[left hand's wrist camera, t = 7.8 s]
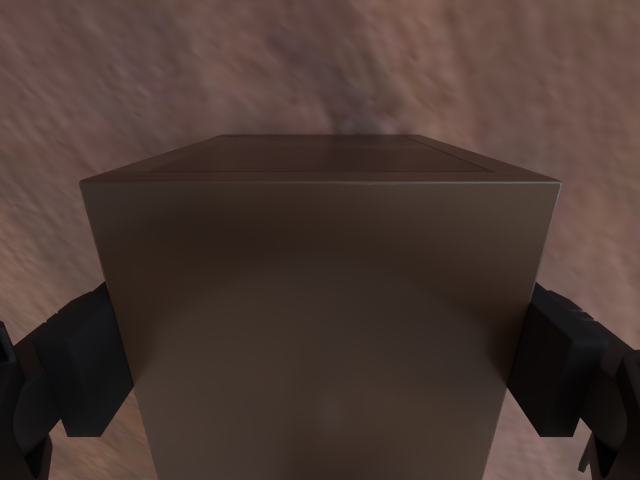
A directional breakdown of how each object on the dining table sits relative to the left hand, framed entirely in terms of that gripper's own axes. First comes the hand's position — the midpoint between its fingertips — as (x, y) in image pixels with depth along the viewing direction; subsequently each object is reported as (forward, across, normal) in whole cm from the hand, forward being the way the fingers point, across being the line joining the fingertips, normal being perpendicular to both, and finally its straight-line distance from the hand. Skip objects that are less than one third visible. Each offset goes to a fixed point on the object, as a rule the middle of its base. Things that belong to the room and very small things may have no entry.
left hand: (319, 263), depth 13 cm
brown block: (+6, 0, -6) cm, 8 cm away
